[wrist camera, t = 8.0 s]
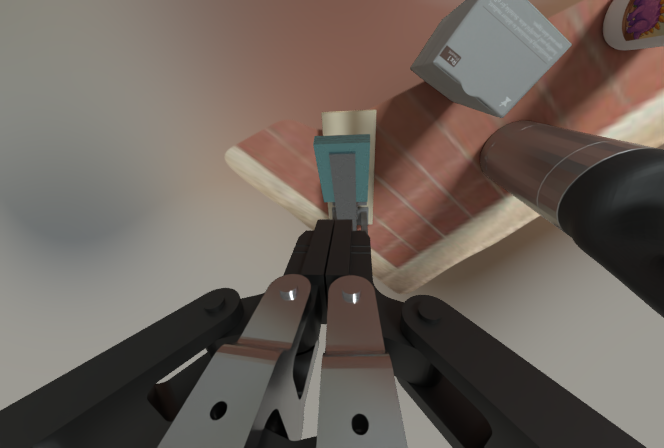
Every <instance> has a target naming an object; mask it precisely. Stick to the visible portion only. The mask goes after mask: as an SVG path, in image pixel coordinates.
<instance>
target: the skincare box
mask: <svg viewBox="0 0 664 448" xmlns="http://www.w3.org/2000/svg"><path fill="white" fill-rule="evenodd" d="M571 45H572V44H571V43H570V42H569V41H568V40H567V39H566V38H565V37H564V36H563V35H562V34H561V33H560V32H559V31H558V30H557V29H556V28H555V27H554V26H553V25H552V24H551V23H550V22H549V21H548V20H547V19H546V18H545V17H544V16H543V15H542V14H541V13H540V12H539V11H538V10H537V9H536V8H535V7H534V6H533V5H532V4H531V3H530V2H529V1H528V0H465V1H464V2H463V3H462V4H461V5H459V6H458V7H457V8H456V9H454V10H453V11H452V12H451V13H450V14H449V15H448V16H446V17H445V18H444V19H442V21H441V22H440V23H439V25H438V26H437V28H436V30H435V31H434V33H433V34H432V36H431V37H430V39H429V40H428V42H427V43H426V45H425V46H424V48H423V49H422V51H421V52H420V54H419V56H418V57H417V58H416V60H415V61H414V63H413V65H412V66H411V68H410V69H411V70H412V71H413V72H414V73H416V74H417V75H418V76H419V77H420V78H422V79H423V80H424V81H425V82H427V83H428V84H429V85H431V86H432V87H434V88H435V89H436V90H438V91H439V92H440V93H442V94H443V95H444V96H446V97H447V98H448V99H450V100H451V101H452V102H455V103H458V104H461V105H464V106H467V107H470V108H473V109H476V110H478V111H481V112H484V113H487V114H490V115H493V116H496V117H500V118H503V117H504V116H505V115H506V114H507V113H508V112H509V111H510V110H511V109H512V108H513V107H514V106H515V104H516V103H517V102H518V101H519V100H520V99H521V98H522V97H523V96H524V95H525V94H526V93H527V92H528V91H529V90H530V89H531V88H532V87H533V85H534V84H535V83H536V82H537V81H538V80H539V79H540V78H541V77H542V76H543V75H544V74H545V73H546V72H547V71H548V69H549V68H550V67H551V66H552V65H553V64H554V63H555V62H556V61H557V60H558V59H559V58H560V57H561V56H562V55H563V54H564V53H565V52H566V51H567V50H568V49H569V47H570V46H571Z"/></svg>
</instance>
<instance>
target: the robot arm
mask: <svg viewBox="0 0 664 448" xmlns="http://www.w3.org/2000/svg"><path fill="white" fill-rule="evenodd" d="M480 166H481V168H482V171H483V172H484V174H485V175H486V176H488V177H489V178H490V179H492V180H493V181H494V182H496V183H497V184H498V185H500V186H501V187H502V188H504V189H505V190H506V191H508V192H509V193H511V194H512V195H513V196H515V197H516V198H517V199H519V200H520V201H522V202H523V203H524V204H526V205H527V206H529V207H530V208H531V209H533V210H534V211H535V212H537V213H538V214H540V215H541V216H542V217H544V218H545V219H547V220H548V221H549V222H551V223H553V224H554V225H555V226H556V227H558V228H559V229H561V230H562V231H563V232H565V233H566V234H568V235H569V236H570V237H572V238H573V240H574V241H575V243H576V244H577V245H578V247H580V248H581V249H582V250H583V251H584V252H585V253H586V254H588V255H589V256H590V257H592V258H593V259H594V260H595V261H597V262H598V263H599V264H601V265H602V266H603V267H604V268H605V269H606V270H608V271H609V272H610V273H611V274H612V275H614V276H615V277H616V278H617V279H619V280H620V281H621V282H622V283H623V284H624V285H625V286H627V287H628V288H629V289H630V290H631V291H632V292H634V293H635V294H636V295H637V296H638V297H640V298H641V299H642V300H643V301H644V302H645V303H647V304H648V305H649V306H650V307H651V308H652V309H654V310H655V311H656V312H657V313H659V314H660V315H661V316H662V317H664V150H662V149H658V148H653V147H648V146H644V145H639V144H634V143H630V142H625V141H620V140H615V139H610V138H606V137H601V136H597V135H592V134H587V133H583V132H578V131H574V130H569V129H564V128H560V127H555V126H551V125H547V124H542V123H537V122H532V121H517V122H512V123H510V124H508V125H505V126H504V127H502V128H500V129H499V130H497V131H496V132H495V133H494V134H493V135H492V136H491V137H490V138H489V139H488V140H487V142H486V144H485V145H484V147H483V149H482V152H481V156H480ZM321 324H327V330H326V331H327V332H326V348H325V353H323V358H322V366H321V367H322V368H321V382H320V397H319V414H318V429H317V436H316V437H311V438H307V439H303V440H301V436H302V429H303V421H304V407H305V401H306V397H307V392H308V388H309V384H310V380H311V376H312V371H313V367H314V363H315V359H316V355H317V351H318V346H319V333H320V327H321ZM205 348H206V350H207V351H208V352H207V353H206V354H205V355H203V356H202V357H200V358H199V359H197V360H196V361H195V362H193V363H192V364H190V365H189V366H188V367H186V368H185V369H183V370H182V371H181V372H179V373H178V374H176V375H175V376H174V377H172V378H171V379H170V380H168V381H166V382H164V383H160V384H156V383H157V382H158V381H159V380H161V379H162V378H164V377H165V376H167V375H168V374H169V373H171V372H172V371H174V370H175V369H176V368H178V367H179V366H181V365H182V364H184V363H185V362H186V361H188V360H189V359H191V358H192V357H194V356H195V355H196V354H198V353H199V352H200V351H202V350H204V349H205ZM394 376H396V377H397V379H398V382H399V383H400V384H401V386H402V387H403V388H404V390H405V391H406V392H407V393H408V394H409V396H410V397H411V398H412V399H413V400H414V402H415V403H416V404H417V405H418V406H419V407H420V409H421V410H422V411H423V412H424V413H425V415H426V416H427V417H428V418H429V419H430V421H431V422H432V423H433V424H434V426H435V427H436V428H437V429H438V430H439V432H440V433H441V434H442V435H443V436H444V438H445V439H446V440H447V441H448V442H449V444H450V445H451V446H452V447H453V448H646V447H645V446H644V445H642V444H641V443H639V442H638V441H637V440H635V439H634V438H633V437H631V436H630V435H628V434H627V433H625V432H624V431H623V430H621V429H620V428H619V427H617V426H616V425H615V424H613V423H611V422H610V421H609V420H607V419H606V418H605V417H603V416H602V415H601V414H599V413H598V412H597V411H595V410H594V409H592V408H591V407H589V406H588V405H587V404H585V403H584V402H582V401H581V400H580V399H578V398H577V397H576V396H574V395H573V394H572V393H570V392H569V391H567V390H566V389H565V388H563V387H562V386H560V385H559V384H558V383H556V382H555V381H554V380H552V379H551V378H549V377H548V376H546V375H545V374H544V373H542V372H541V371H540V370H538V369H537V368H536V367H534V366H533V365H531V364H530V363H529V362H527V361H526V360H524V359H523V358H522V357H520V356H519V355H517V354H516V353H515V352H513V351H512V350H511V349H509V348H508V347H506V346H505V345H504V344H502V343H501V342H499V341H498V340H497V339H495V338H494V337H492V336H491V335H490V334H488V333H487V332H486V331H484V330H483V329H481V328H480V327H479V326H477V325H476V324H475V323H473V322H472V321H470V320H469V319H468V318H466V317H465V316H463V315H462V314H461V313H459V312H458V311H456V310H455V309H454V308H452V307H451V306H450V305H448V304H447V303H445V302H444V301H442V300H440V299H438V298H436V297H433V296H429V295H416V296H413V297H410V298H409V299H407V301H405V303H404V302H400V301H397V300H394V299H391V298H388V297H386V296H384V295H383V294H381V293H380V292H379V291H378V290H377V289H376V288H375V286H374V284H373V278H372V263H371V247H370V237H369V236H368V234H367V233H366V232H365V231H353V223H352V219H336V220H318V221H317V224H316V227H315V230H314V231H305V232H304V233H303V234H302V235H301V236H300V237H299V238H298V241H297V243H296V246H295V248H294V250H293V253H292V255H291V258H290V260H289V263H288V265H287V268H286V270H285V273H284V275H283V276H282V277H279V278H277V279H276V280H274V281H273V282H272V283H271V284H270V285H269V287H268V288H267V290H266V292H265V293H263V294H260V295H256V296H251V297H247V298H242V299H240V296H239V294H238V293H237V291H235V290H233V289H230V288H221V289H216V290H213V291H211V292H209V293H207V294H205V295H203V296H201V297H199V298H198V299H196V300H194V301H193V302H191V303H189V304H187V305H185V306H184V307H182V308H180V309H178V310H177V311H175V312H173V313H171V314H170V315H168V316H166V317H165V318H163V319H161V320H159V321H157V322H156V323H154V324H152V325H150V326H149V327H147V328H145V329H143V330H141V331H140V332H138V333H136V334H135V335H133V336H131V337H129V338H127V339H126V340H124V341H122V342H120V343H119V344H117V345H115V346H113V347H112V348H110V349H108V350H106V351H105V352H103V353H101V354H99V355H98V356H96V357H94V358H92V359H91V360H89V361H87V362H85V363H83V364H82V365H80V366H78V367H76V368H75V369H73V370H71V371H69V372H68V373H66V374H64V375H62V376H61V377H59V378H57V379H55V380H54V381H52V382H50V383H48V384H47V385H45V386H43V387H41V388H40V389H38V390H36V391H34V392H32V393H31V394H29V395H27V396H25V397H24V398H22V399H20V400H18V401H17V402H15V403H13V404H11V405H10V406H8V407H6V408H4V409H3V410H1V411H0V448H408V447H407V442H406V437H405V431H404V426H403V421H402V415H401V410H400V405H399V400H398V394H397V389H396V384H395V378H394Z"/></svg>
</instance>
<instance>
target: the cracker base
mask: <svg viewBox="0 0 664 448" xmlns="http://www.w3.org/2000/svg"><path fill="white" fill-rule="evenodd" d="M322 128H323V136H332V135H357V134H370V159H369V180H368V201H367V202H358V219H356V223H357V225H361V231H365V232H366V233H367V234H368V228H367V225H368V224H372V221H373V192H374V163H375V134H376V110H358V111H338V112H323V113H322ZM328 213H329V220H336V219H337V214H336V206H335V202H328Z"/></svg>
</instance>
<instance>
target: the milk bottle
mask: <svg viewBox="0 0 664 448" xmlns="http://www.w3.org/2000/svg"><path fill="white" fill-rule="evenodd" d="M603 36H604V38H605V41H606V42H607V43H608V45H610V46H611V47H613V48H615V49H617V50H636V49H645V48H653V47H661V46H664V0H613V1H612V3H611V5H610V6H609V8H608V11H607V13H606V15H605V19H604V22H603Z"/></svg>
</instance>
